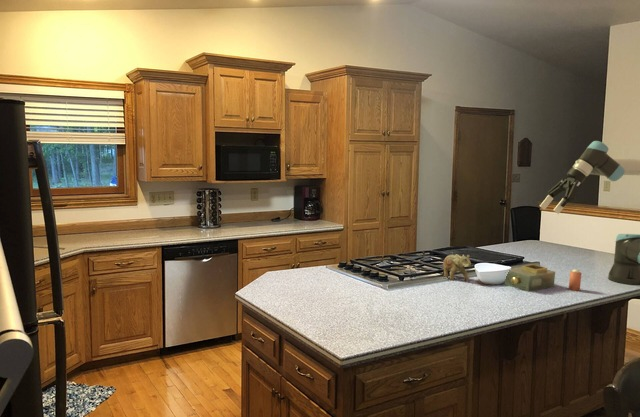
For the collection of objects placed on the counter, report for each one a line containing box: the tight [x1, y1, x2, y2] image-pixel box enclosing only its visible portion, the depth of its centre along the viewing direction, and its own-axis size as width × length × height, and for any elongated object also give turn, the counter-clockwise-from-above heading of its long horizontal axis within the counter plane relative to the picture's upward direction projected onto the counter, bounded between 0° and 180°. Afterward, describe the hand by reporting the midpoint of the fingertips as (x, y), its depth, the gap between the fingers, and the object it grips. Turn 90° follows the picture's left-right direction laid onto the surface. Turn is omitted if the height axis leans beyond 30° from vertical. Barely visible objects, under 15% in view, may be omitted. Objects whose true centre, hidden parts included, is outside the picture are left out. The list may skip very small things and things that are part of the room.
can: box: [568, 269, 582, 292], centre depth 241 cm, size 5×5×9 cm
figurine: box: [442, 253, 472, 282], centre depth 254 cm, size 10×16×16 cm, turn 14°
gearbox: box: [504, 263, 556, 293], centre depth 245 cm, size 20×13×8 cm, turn 121°
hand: (548, 210), depth 239 cm, fingers open, 13 cm apart
